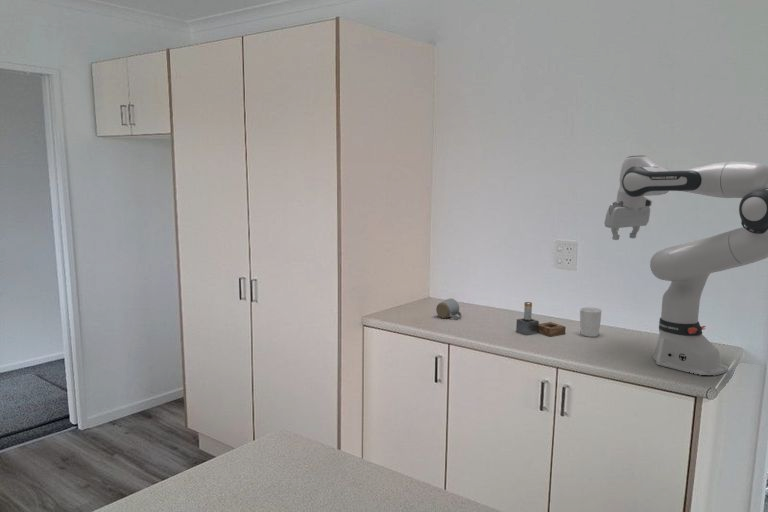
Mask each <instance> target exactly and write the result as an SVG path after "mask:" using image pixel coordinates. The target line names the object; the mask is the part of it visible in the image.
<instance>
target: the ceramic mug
mask: <svg viewBox="0 0 768 512" xmlns="http://www.w3.org/2000/svg"><path fill="white" fill-rule="evenodd" d="M435 309H436V310H435V311H436V314H437V315H438V316H439V317H440V318H441V319H448V318H451V319H453V320H458V319H459V320H460V319H462V316H463V315H462V312H461V311H460V305H459V303H458V301H457V300H456V299H454V298H447V299H445V300H443V301H441V302H439V303H438V304H437V305H436V308H435ZM457 315H458V316H457ZM459 320H458V321H459Z"/></svg>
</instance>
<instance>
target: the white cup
mask: <svg viewBox="0 0 768 512" xmlns="http://www.w3.org/2000/svg"><path fill="white" fill-rule="evenodd" d="M579 309H580V310H579V312H580V313H579V317H580V319H579V320H580V321H579V323H580V325H579V326H580V334H581V335H582V336H584V337H590V338H591V337H593V338H594V337H598V336H599V335H600V327H601V320H602V312H603V311H602V309H600V308H596V307H588V306H586V307H585V306H584V307H581V308H579Z"/></svg>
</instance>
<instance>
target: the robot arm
mask: <svg viewBox="0 0 768 512" xmlns="http://www.w3.org/2000/svg"><path fill="white" fill-rule="evenodd" d="M620 168H621V169H620V175H619V187H618V190H617V195H616V201H613V202H611V204H610V205H609V206H608V209H607V211H606V214H605V218H604V223H603V224H604V227H605V228H608V229H610V230H611V234H612V238H611V239H612V240H614V241H619V240H620V234H618V232H619V229H620V228H622V229H623V228H632V230H631V232H629V239H636V238H637V234H638V233H639V231H640V229H641V227H646V226H647V225H648V223H649V221H650V215H651V208H650V207H652V204H653V200H651V199H649V198H647V197H648V196H649V197H650V196H651V197H654V196H662V195H666V194H667V193H669V192H675V191H676V192H683V193H684V192H685V193H688V194H689V193H690V194H697V195H701V196H708V197H713V198H723V199H735V198H736V199H741V200H740V202H739V206H738V214H739V217H740V220H741V221H740V222H741V227H740V228H736V229H732V230H728V231H726V232H722V233H719V234H717V235H716V234H715V235H713V236H710V237H705V238H700V239H697V240H693V241H689V242H685V243H680V244H677V245H673V246H670V247H666V248H664V249H662V250H659V251H657V252H655V253H654V254H653V255H652V257H651V259H650V262H649V266H650V267H649V268H650V271H651V273H652V274H653V275H654V277H655V278H657V279H659V280H661V281H667V282H668V281H669V282H671V283H670V284H669V287H668V289H667V290H665V292H664V293H663V295H662V301H661V313H660V314H661V315H660V317H659V322H658V332H659V334H658V338H657V339H658V340H657V345H656V348H655V350H654V354H653V356H652V359H653V360H654V361H655V364H656V365H658V366H662V367H666V368H670V369H674V370H677V371H681V372H686V373H689V372H690V374H693V373H694V374H693V375H697V374H699V375H698V376H701V375H713V376H718V375H722V374H725V373H727V372H728V371H729V369H728V368H729V366H727V365H725V364H723V363H721V353H720V350H719V349H718V348H717V347H716V346H715V345H714V344H713V343H712V342H711V341H710V340H709V339H708V338H707V337H706V336H705V335H704V334H703V330H706V325H703V326H701V324H700V321H699V312H700V311H699V310H700V305H701V304H700V303H701V297H702V293H703V290H704V288H705V286H706V283H707V281H708V278H709V277H710V275H711V274H714V273H717V272H722V271H726V270H730V269H734V268H738V267H743V266H746V265H750V264H753V263H756V262H759V261H762V260H765V259H767V258H768V165H767V164H765V163H761V162H755V161H754V162H753V161H743V160H742V161H741V160H740V161H739V160H736V161H735V160H734V161H723V162H722V161H721V162H716V163H715V162H714V163H710V164H706V165H705V164H704V165H702V166H696V167H693V168H687V169H681V170H671V171H670V170H669V169H667V168H664V167H662V166H660V165H658V164H656V163H654V162H653V161H651V159H650V158H649V157H648V156H646V155H631V156H627V157H626V158H625V159H623V163H622V165H621V167H620Z"/></svg>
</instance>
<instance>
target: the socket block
mask: <svg viewBox="0 0 768 512" xmlns="http://www.w3.org/2000/svg"><path fill="white" fill-rule="evenodd" d="M539 324H540V323H539V320H537V319H534V318H531V321H529V322H526V321H524V317H523V318H518V319H516V325H515V326H516V328H515V330H516V332H517V333H519V334H522V335H525V336H531V335H535V334H539V333H538V326H539Z"/></svg>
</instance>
